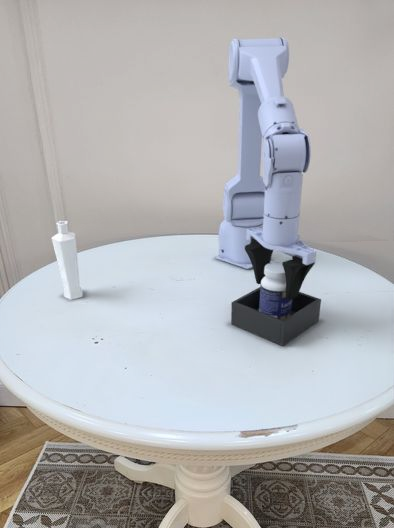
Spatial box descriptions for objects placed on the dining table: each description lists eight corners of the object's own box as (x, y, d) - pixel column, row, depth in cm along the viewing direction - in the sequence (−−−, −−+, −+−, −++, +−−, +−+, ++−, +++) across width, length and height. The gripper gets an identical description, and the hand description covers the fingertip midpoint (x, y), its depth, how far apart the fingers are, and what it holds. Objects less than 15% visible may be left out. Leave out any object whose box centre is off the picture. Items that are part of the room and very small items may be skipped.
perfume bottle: (90, 294, 107) (80, 221, 99) (72, 302, 104) (60, 228, 96) (76, 287, 110) (65, 216, 102) (58, 295, 107) (45, 222, 99)
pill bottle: (286, 328, 93) (290, 276, 88) (254, 323, 95) (257, 271, 89) (293, 313, 97) (298, 263, 92) (263, 308, 99) (266, 258, 94)
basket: (231, 324, 95) (231, 302, 93) (268, 302, 102) (269, 281, 100) (282, 346, 89) (284, 322, 87) (318, 321, 96) (321, 299, 93)
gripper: (333, 219, 83) (323, 297, 90) (269, 198, 93) (265, 270, 100) (300, 229, 79) (293, 310, 86) (238, 206, 89) (236, 280, 96)
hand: (276, 289), depth 93 cm, fingers open, 7 cm apart
